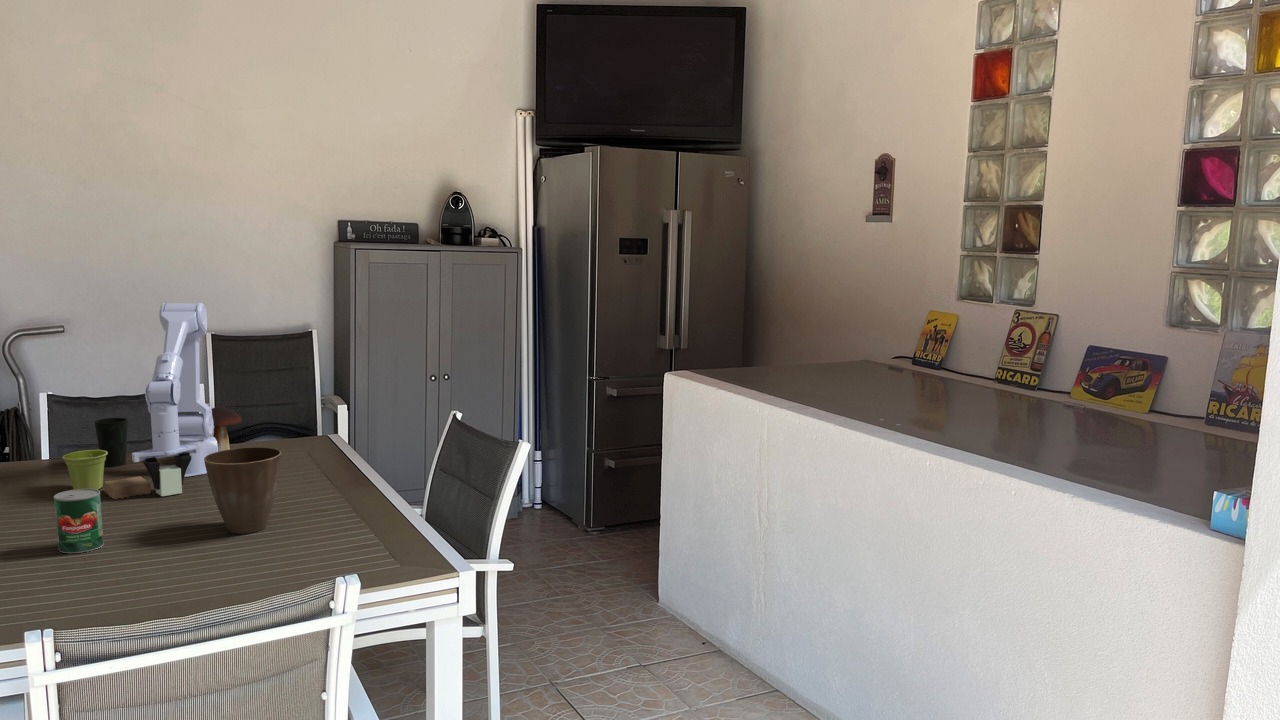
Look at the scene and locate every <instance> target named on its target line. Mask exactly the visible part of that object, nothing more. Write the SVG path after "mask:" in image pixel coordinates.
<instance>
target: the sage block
mask: <svg viewBox="0 0 1280 720" xmlns="http://www.w3.org/2000/svg"><path fill="white" fill-rule="evenodd" d="M159 480H160V489H158V490H156V489H155V493H156V494H158V495H159V496H160V497H167V496H172V495H178V494H183V485H182V481H181V468H179V467H178V466H176V464H171V465H170V464H169V465H163V466H159Z"/></svg>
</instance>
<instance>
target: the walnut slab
mask: <svg viewBox="0 0 1280 720" xmlns="http://www.w3.org/2000/svg"><path fill="white" fill-rule="evenodd" d="M103 488H104V489H103V490H104V491H103V492H104V493H105V492H106V493H107V494H108V495H109V496H108V497H109V498H111V497H112V498H113V499H115V500H119V499H118V498H121V499H125V498H124V497H127V498H130V497H129V496H133V497H137V496H136V495H139V496H143V494H145V495H150V493H151V494H152V492H151V482H150V481H149V480H147V479H146V478H143V477H142V476H141V475H138V476H132V477H127V478H120V479H114V480H113V479H112V480H106V481H103ZM106 493H105V494H106ZM107 494H106V495H107ZM112 498H111V499H112ZM113 499H112V500H113Z"/></svg>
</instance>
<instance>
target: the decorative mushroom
mask: <svg viewBox="0 0 1280 720" xmlns="http://www.w3.org/2000/svg"><path fill="white" fill-rule="evenodd" d="M211 410H212V417H213V423H214V426H213V433H212V435H213V437H215V439H216V441H217V444H218V452H219V451H223V450H229V449H231V448H230V442H229V441H230V440H229V435H228V431H227V426H229V425H230V426H233V425H237V424H240V423H242V422H243V419H242V417H241V415H240V414H238V413H237V412H235V411H234V410H232V409H230V408H227V407H224V406H214V407H213V408H212V407H211Z"/></svg>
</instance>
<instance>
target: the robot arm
mask: <svg viewBox="0 0 1280 720" xmlns="http://www.w3.org/2000/svg"><path fill="white" fill-rule="evenodd" d="M158 313H159V321H160V324H161V326H162V329H163V331H165V334H164V344H163V352H162V353H161V354H158V356H157V357H156V361H155V365H154V370H153V374H152V380H151V381H150V382H148V383H146V386H145V393H144V394H145V402H146V404H147V410H148V413H149V414H150V424H151V440H152V442H151V443H152V448H150V449H146V450H141V451H137V452H136V451H135V452H131V461H132V462H134V463H139V462H142V464H143V465H144V467H145V468H146V470H147V472H148V473H149V476H150V478H151V481H152V484H153V488H154V490H155V491H156V490H158V489H160V480H159V467H160V462H158V459H163V458H168V457H174V461H175V462H174V463H175V465H176V466H178V467H179V468H181V481H182V486H184V480H185V478H188V477H192V476H193V477H194V476H200V475H207V471H206V467H205V462H204V458H205V457H206V456H207V455H209V454H212V453H215V452H218V444H217V441H216V439H215V437H213V436H212V435H213V433H214V423H213V417H212V410H211V409H212V407H211V406H210V405H208V404H207V403H205V402H203V401H202V400H201V394H200V393H201V392H200V391H201V390H200V389H201V388H200V385H201V382H200V381H201V379H200V378H201V376H200V373H201V372H200V367H201V366H200V343H201V342H200V341H201V337H203V336H205V335H206V334H207V331H208V313H207V308H206V305H204V303H203V302H197V303H196V302H195V303H193V302H192V303H190V302H187V303H186V302H181V303H179V302H177V303H175V302H172V303H170V302H169V303H168V302H163V303H162V304H161V305H160V306H159V312H158ZM188 412H189V413H188ZM197 412H198V413H197Z"/></svg>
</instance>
